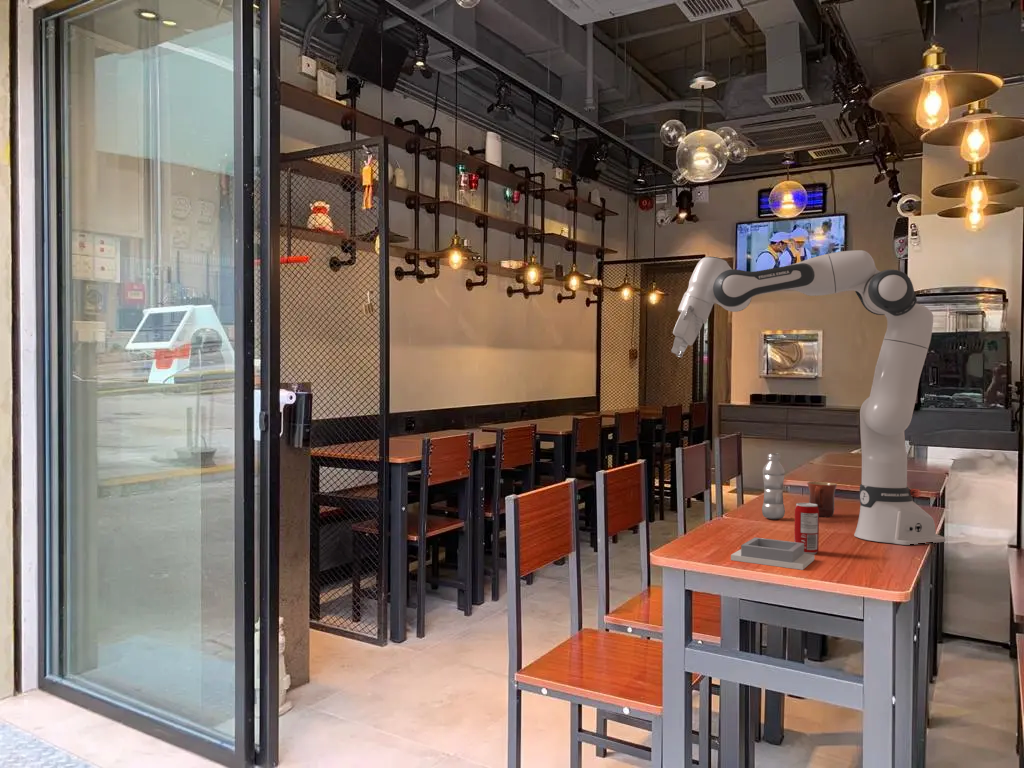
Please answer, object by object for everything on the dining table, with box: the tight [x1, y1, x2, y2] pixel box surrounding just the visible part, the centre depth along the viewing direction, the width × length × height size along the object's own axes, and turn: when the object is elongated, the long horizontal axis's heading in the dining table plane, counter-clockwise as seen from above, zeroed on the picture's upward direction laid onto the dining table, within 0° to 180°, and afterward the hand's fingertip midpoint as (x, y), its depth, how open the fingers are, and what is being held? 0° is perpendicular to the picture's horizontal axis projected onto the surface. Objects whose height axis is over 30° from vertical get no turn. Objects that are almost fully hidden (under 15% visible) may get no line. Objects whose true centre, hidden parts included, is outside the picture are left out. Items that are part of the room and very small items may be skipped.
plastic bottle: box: [761, 452, 786, 520], centre depth 236 cm, size 6×7×20 cm
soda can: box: [793, 502, 820, 555], centre depth 188 cm, size 6×6×12 cm
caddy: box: [730, 537, 815, 571], centre depth 179 cm, size 12×16×4 cm
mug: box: [806, 481, 838, 518], centre depth 242 cm, size 12×9×10 cm
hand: (676, 355), depth 223 cm, fingers open, 8 cm apart
